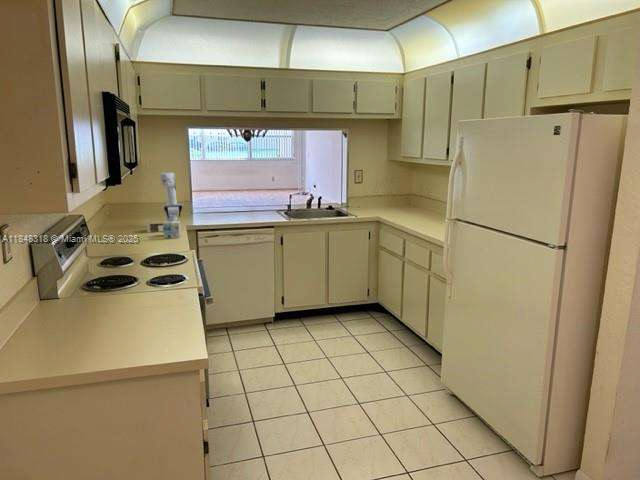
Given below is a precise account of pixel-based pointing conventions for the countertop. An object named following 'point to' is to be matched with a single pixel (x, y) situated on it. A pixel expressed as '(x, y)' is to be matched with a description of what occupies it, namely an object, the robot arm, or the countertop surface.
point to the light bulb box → (171, 229)
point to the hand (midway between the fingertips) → (174, 217)
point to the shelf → (155, 227)
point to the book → (160, 228)
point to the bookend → (148, 226)
